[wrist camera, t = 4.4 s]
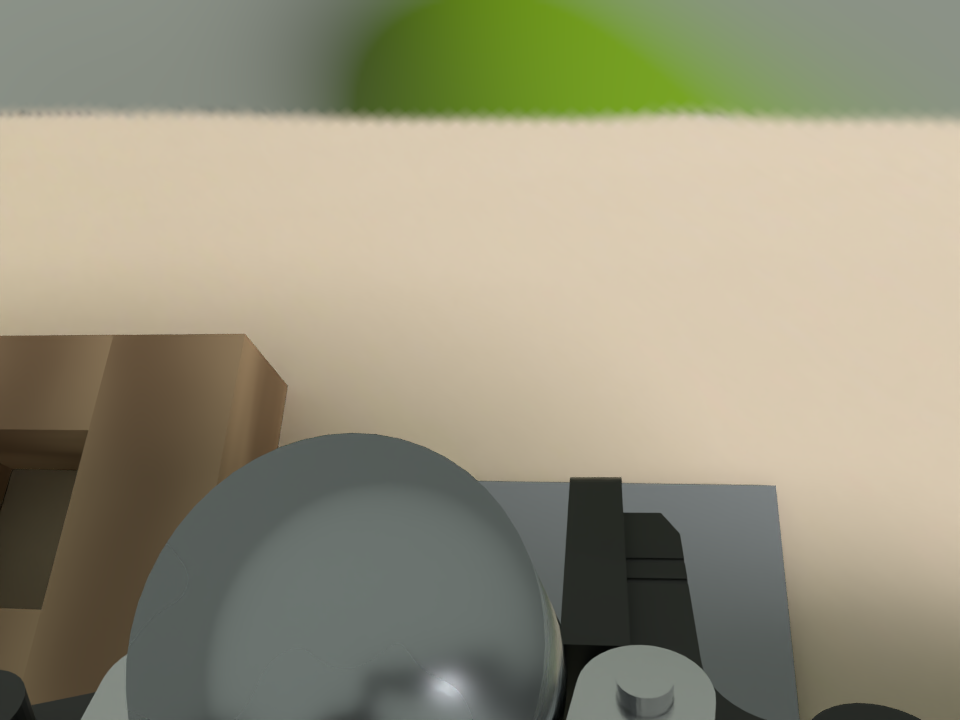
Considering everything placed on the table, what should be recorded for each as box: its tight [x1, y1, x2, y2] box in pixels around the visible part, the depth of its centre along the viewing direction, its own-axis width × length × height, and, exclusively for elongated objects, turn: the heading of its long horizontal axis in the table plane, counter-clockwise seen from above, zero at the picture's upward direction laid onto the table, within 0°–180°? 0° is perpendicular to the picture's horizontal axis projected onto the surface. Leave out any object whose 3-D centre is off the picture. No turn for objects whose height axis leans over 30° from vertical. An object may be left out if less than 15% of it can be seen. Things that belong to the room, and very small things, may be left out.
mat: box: [478, 481, 800, 720], centre depth 21 cm, size 14×12×1 cm
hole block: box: [0, 334, 287, 705], centre depth 22 cm, size 12×10×4 cm
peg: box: [126, 433, 567, 720], centre depth 10 cm, size 3×3×10 cm
